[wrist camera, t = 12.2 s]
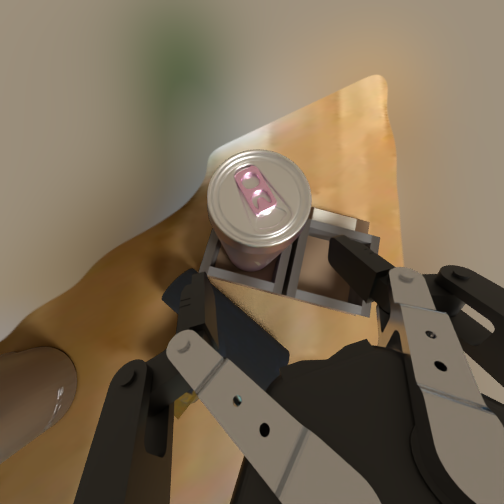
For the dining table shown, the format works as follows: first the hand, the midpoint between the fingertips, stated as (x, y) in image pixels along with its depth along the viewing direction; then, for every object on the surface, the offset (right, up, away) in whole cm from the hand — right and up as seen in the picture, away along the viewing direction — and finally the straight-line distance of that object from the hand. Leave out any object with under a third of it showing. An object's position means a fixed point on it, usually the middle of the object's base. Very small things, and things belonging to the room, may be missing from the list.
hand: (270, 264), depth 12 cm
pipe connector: (-6, -11, +12) cm, 18 cm away
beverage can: (-1, +1, +13) cm, 13 cm away
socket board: (+4, +1, +14) cm, 15 cm away
